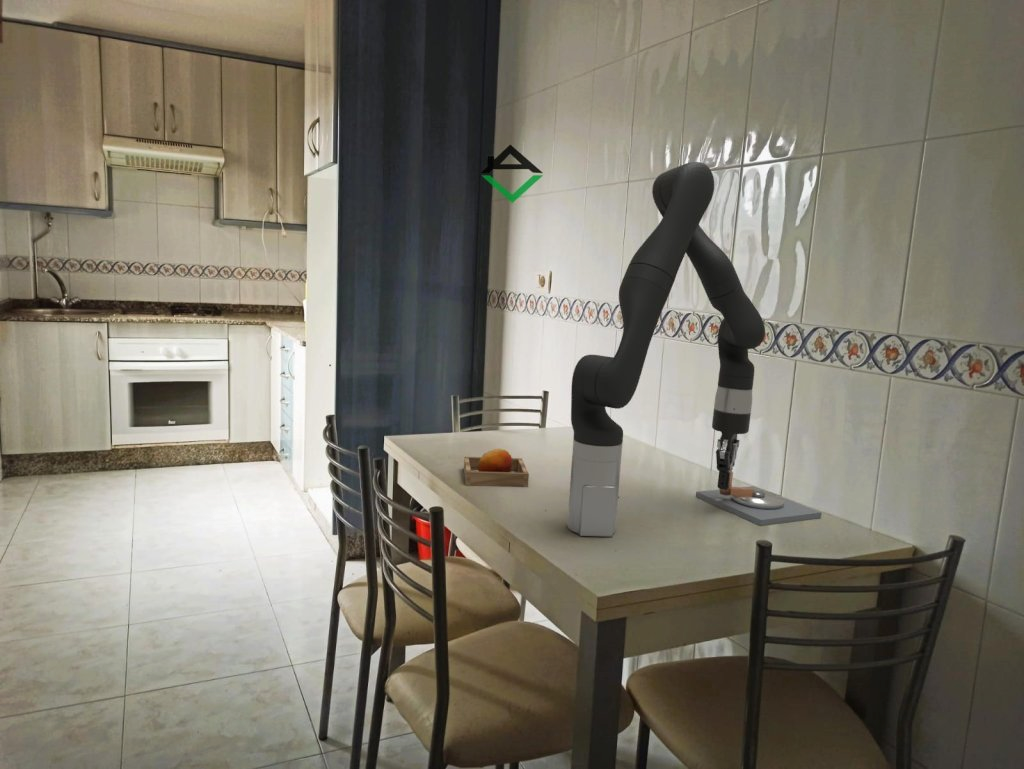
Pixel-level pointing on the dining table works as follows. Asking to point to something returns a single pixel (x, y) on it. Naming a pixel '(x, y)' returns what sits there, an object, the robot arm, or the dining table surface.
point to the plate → (760, 516)
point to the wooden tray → (495, 474)
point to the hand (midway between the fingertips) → (723, 488)
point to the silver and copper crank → (753, 497)
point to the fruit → (495, 461)
